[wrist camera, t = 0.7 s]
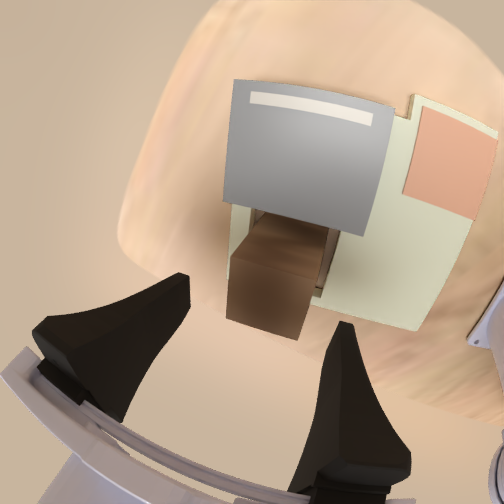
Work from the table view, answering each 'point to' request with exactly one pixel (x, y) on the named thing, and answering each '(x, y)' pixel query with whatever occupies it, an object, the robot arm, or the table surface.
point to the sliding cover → (306, 153)
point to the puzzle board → (406, 218)
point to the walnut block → (275, 274)
